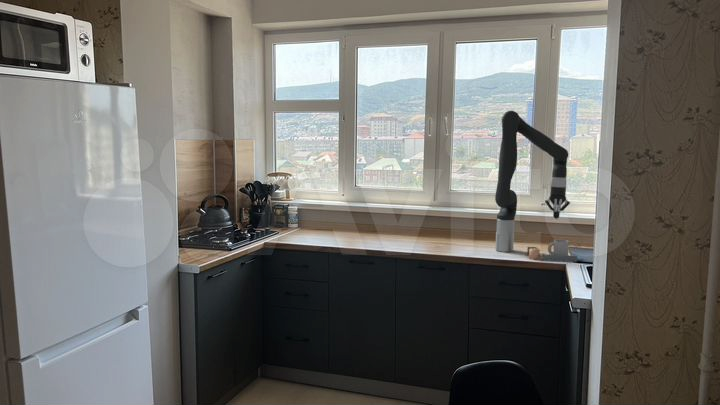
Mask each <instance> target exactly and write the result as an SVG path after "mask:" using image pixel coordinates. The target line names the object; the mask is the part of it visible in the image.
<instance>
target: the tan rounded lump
mask: <svg viewBox="0 0 720 405" xmlns="http://www.w3.org/2000/svg"><path fill="white" fill-rule="evenodd" d="M537 248H538V247H536V248H530V249H529V255H528V259H529V260H531V259H532V261H538V259H539V260H540V252H541V251H540V248H538V249H537Z"/></svg>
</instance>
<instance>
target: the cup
mask: <svg viewBox="0 0 720 405" xmlns="http://www.w3.org/2000/svg"><path fill="white" fill-rule="evenodd" d="M569 244H570V241H569V240H568V239H560V238H559V239H553V241H551V242H550V243H549V244H548V246H547V252H548V253H549V255H569V251H570V250H569V248H570V247H569ZM552 246H553V250H552Z"/></svg>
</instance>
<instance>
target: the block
mask: <svg viewBox="0 0 720 405" xmlns="http://www.w3.org/2000/svg"><path fill="white" fill-rule="evenodd" d="M530 248H537V249H539V248H538V247H536V246H527V255H528V256H529V249H530Z"/></svg>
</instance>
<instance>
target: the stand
mask: <svg viewBox="0 0 720 405" xmlns="http://www.w3.org/2000/svg"><path fill="white" fill-rule="evenodd" d="M541 254H542V255H541V257H542V261H543V260H550V261H549V262H566V261H567V262H569V263H570V262H572V263H577V262H578V255H577V254H572V255H569V254H568V255H551V254H550V253H549V254H548V253H544V252H542V253H541Z"/></svg>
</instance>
